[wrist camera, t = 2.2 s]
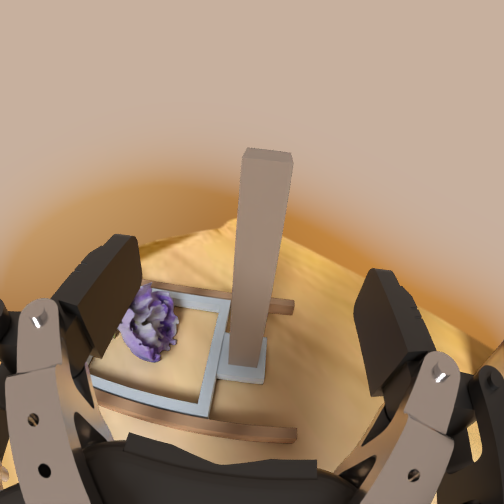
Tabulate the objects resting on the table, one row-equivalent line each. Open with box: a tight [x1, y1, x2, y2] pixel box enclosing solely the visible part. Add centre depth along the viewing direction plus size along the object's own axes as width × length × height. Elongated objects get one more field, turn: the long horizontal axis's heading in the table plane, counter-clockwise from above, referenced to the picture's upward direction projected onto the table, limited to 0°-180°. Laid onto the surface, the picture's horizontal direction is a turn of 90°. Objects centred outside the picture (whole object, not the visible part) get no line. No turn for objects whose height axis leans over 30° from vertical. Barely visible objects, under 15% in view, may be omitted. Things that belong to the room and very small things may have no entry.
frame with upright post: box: [86, 148, 293, 419], centre depth 24 cm, size 22×17×23 cm
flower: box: [113, 282, 179, 362], centre depth 29 cm, size 9×9×10 cm
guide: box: [94, 279, 297, 443], centre depth 30 cm, size 28×20×2 cm
